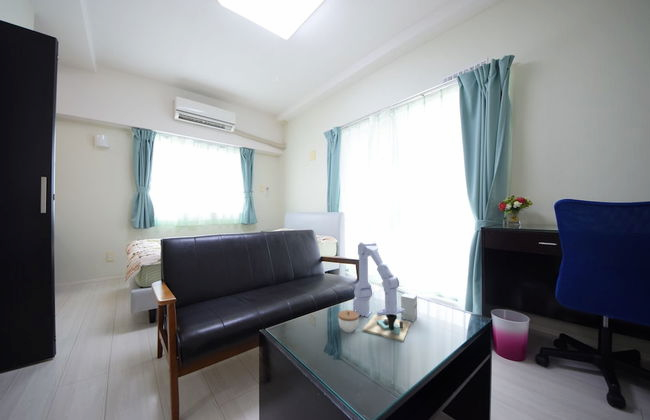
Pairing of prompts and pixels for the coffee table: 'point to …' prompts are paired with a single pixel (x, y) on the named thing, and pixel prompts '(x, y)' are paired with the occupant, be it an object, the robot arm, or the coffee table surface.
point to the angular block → (386, 327)
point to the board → (378, 330)
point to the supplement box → (409, 306)
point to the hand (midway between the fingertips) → (391, 329)
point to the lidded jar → (348, 320)
